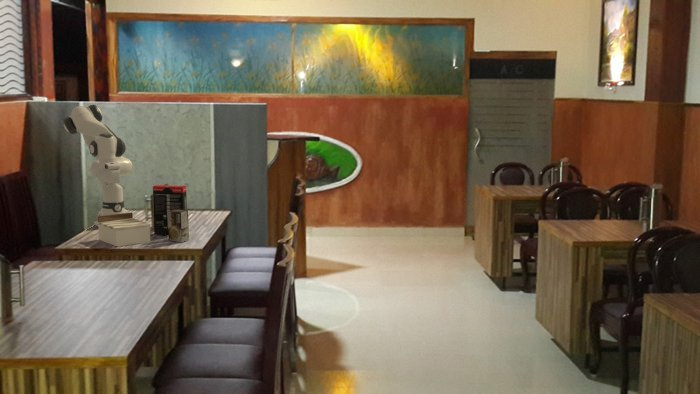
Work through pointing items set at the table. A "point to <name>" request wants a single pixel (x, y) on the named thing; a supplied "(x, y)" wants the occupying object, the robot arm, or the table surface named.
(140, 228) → the gift box base
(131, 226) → the box lid
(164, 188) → the graphics card box
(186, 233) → the coffee box
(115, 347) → the table surface
